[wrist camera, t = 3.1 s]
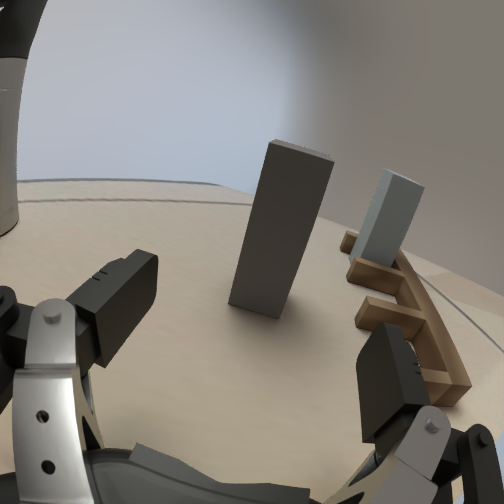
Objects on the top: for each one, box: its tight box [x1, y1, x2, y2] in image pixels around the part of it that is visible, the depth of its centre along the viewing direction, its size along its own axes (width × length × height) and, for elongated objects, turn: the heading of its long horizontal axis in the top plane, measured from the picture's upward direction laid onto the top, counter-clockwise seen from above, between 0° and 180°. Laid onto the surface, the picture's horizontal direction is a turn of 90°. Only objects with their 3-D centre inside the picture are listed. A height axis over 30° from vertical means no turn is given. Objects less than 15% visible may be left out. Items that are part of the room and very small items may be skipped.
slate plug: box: [349, 168, 425, 267], centre depth 30 cm, size 4×4×12 cm
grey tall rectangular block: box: [228, 139, 334, 319], centre depth 20 cm, size 4×4×12 cm
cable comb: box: [340, 231, 472, 406], centre depth 25 cm, size 8×24×2 cm, turn 170°
